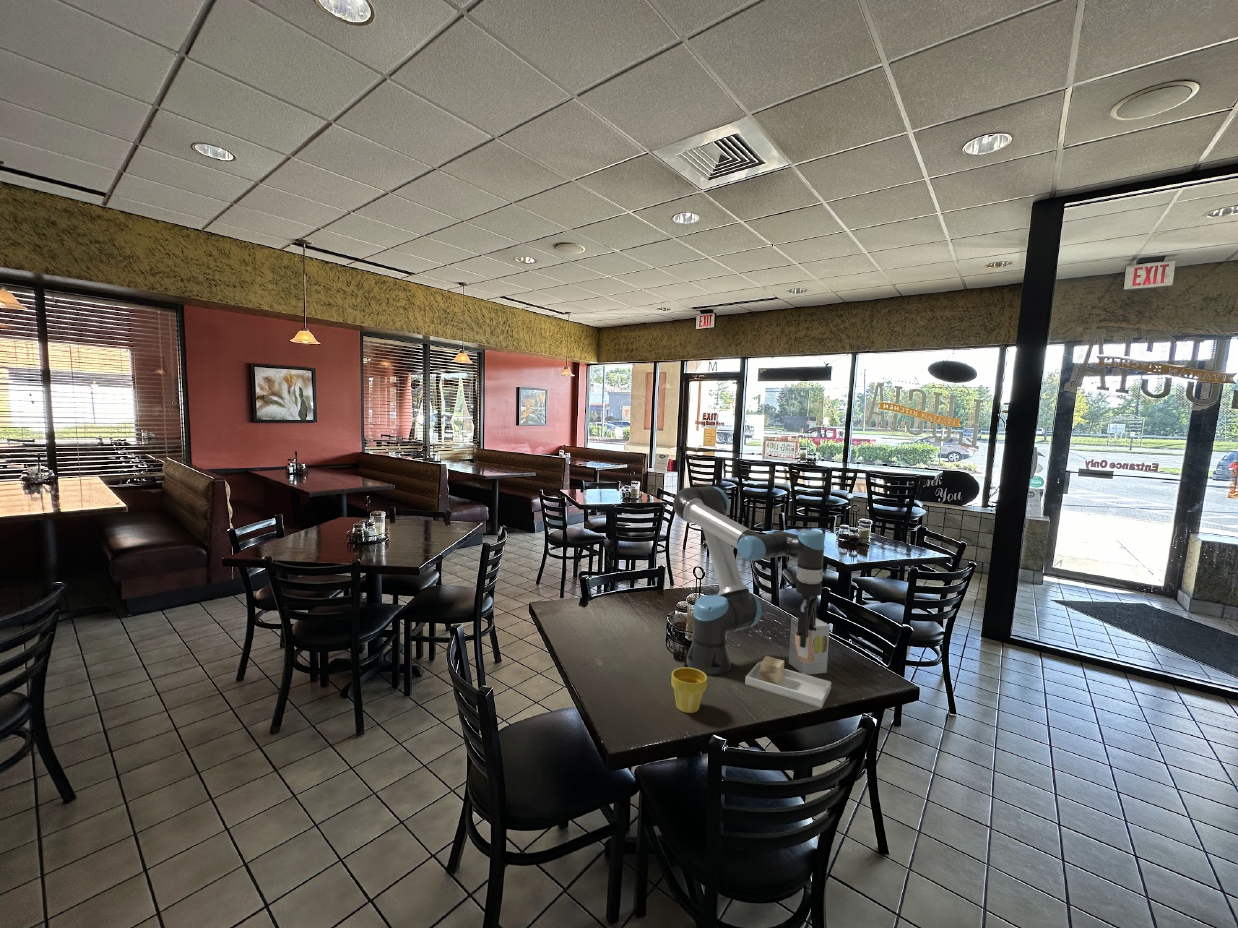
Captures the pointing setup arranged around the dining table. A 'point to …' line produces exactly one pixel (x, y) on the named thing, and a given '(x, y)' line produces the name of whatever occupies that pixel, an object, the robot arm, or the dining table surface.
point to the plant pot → (688, 688)
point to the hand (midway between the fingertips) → (805, 653)
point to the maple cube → (772, 670)
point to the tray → (793, 686)
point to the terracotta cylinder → (810, 650)
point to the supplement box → (818, 648)
